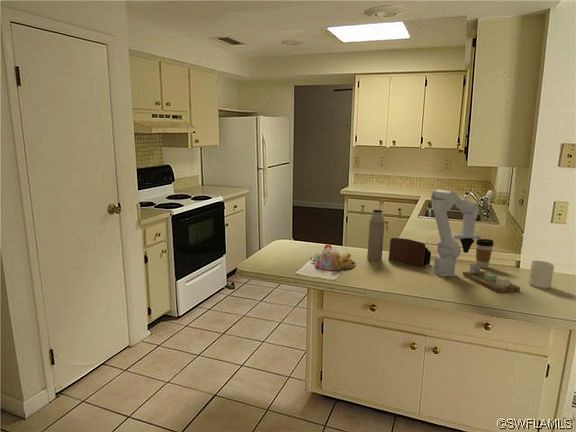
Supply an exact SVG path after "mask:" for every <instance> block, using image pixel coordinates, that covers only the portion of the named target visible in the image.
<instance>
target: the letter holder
mask: <svg viewBox="0 0 576 432" xmlns="http://www.w3.org/2000/svg"><path fill="white" fill-rule="evenodd" d="M431 255H432V253H431V251H430V250H429V248H428V247H426V244H425V243H424V242H420V241H417V240H413V239H409V238H403V237H402V238H401V237H391V238H390V242H389V251H388V262H391V261H393V262H392V263H396V262H397V264H400V263H401V264H400V265H405V266H409V265H410V267H414V268H418V267H419V269H424V267H425V268H427V267H428V266H430V265H429V264H431V257H432V256H431ZM427 265H428V266H427ZM426 266H427V267H426Z"/></svg>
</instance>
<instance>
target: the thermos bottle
mask: <svg viewBox="0 0 576 432" xmlns="http://www.w3.org/2000/svg"><path fill="white" fill-rule="evenodd" d="M372 211H373V213H372V215H371V216H370V217H371V218H370V219H369V224H368V225H369V228H368V240H367V241H368V243H367V256H366V259H367V258H368V259H370V260H373V261H372V262H381V261H382V259H383V247H384V245H383V244H384V236H385V235H384V234H385V223H386V222H385V221H386V220H384V215H383V210H381V209H373V210H372ZM368 259H367V260H368ZM370 260H369V261H370Z"/></svg>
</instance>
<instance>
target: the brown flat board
mask: <svg viewBox="0 0 576 432" xmlns="http://www.w3.org/2000/svg"><path fill="white" fill-rule="evenodd" d="M485 273H488V272H487V271H485V270H480V274H473V273H471V272H470V271H463V272H462V276H463V275H464V276H466V277H468V278H470V279H471V281H472V280H473V282H474V281H475V283H476V282H477V283H476V284H479V285H480V284H481V285H480V286H482V287H484V288H486V289H488V290H490V291H492V292H494V293H496V294H497V293H498V294H499V293H520V292H521V287H520V286H518V285H516V284H513V283H512V282H510V286H509V287H501V286H499V285H497V284H495V283H496V281H488V280H486V279H484V274H485ZM464 276H463V277H464ZM466 277H465V278H466ZM468 278H467V279H468ZM470 279H469V280H470Z"/></svg>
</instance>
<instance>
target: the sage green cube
mask: <svg viewBox="0 0 576 432" xmlns="http://www.w3.org/2000/svg"><path fill="white" fill-rule="evenodd" d="M496 277H498V275H496V274H494V273H491V272H490V273H489V272H487V273H485V274H484V279H486V280H488V281H496Z"/></svg>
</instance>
